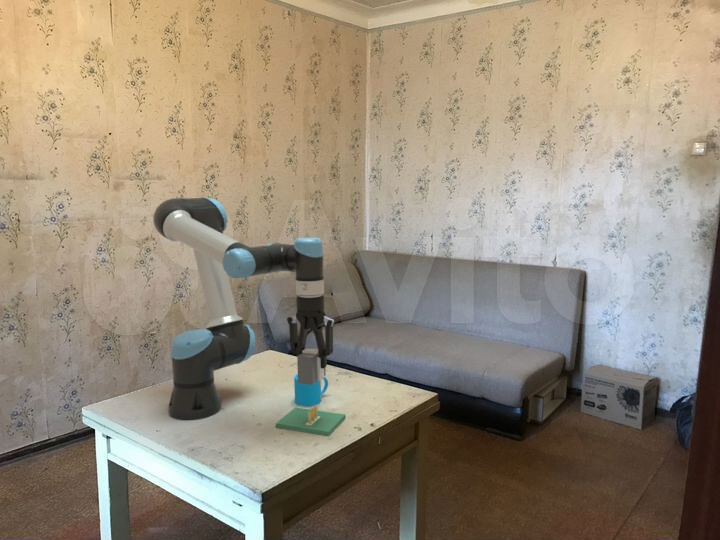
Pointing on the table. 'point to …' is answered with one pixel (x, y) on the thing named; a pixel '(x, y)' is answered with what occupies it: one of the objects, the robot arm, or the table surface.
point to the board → (311, 421)
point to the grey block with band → (308, 366)
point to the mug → (308, 392)
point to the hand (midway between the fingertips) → (312, 378)
